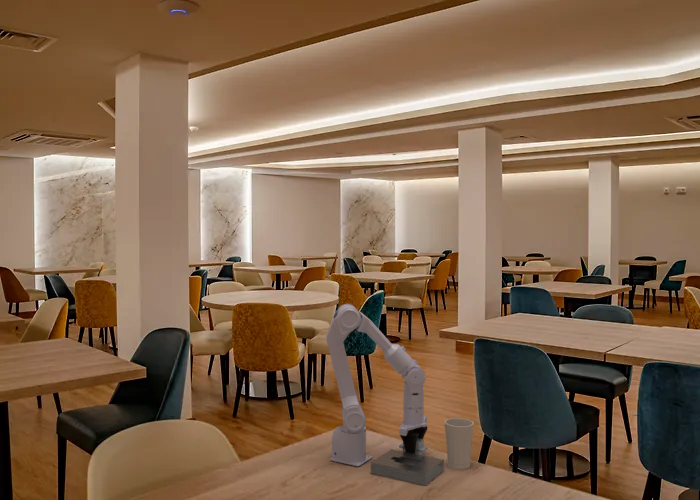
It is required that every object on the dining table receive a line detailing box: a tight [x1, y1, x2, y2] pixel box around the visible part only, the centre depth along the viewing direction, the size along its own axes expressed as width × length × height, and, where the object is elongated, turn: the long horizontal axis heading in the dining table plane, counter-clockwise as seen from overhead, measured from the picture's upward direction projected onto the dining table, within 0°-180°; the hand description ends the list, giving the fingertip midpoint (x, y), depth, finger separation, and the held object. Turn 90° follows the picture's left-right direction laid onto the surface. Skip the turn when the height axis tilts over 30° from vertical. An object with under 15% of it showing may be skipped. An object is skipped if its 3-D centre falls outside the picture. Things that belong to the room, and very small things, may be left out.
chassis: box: [370, 448, 445, 486], centre depth 169 cm, size 16×12×3 cm
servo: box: [398, 438, 429, 456], centre depth 179 cm, size 8×3×6 cm, turn 59°
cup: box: [444, 417, 475, 470], centre depth 174 cm, size 8×8×12 cm
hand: (413, 453), depth 179 cm, fingers closed on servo, 3 cm apart
